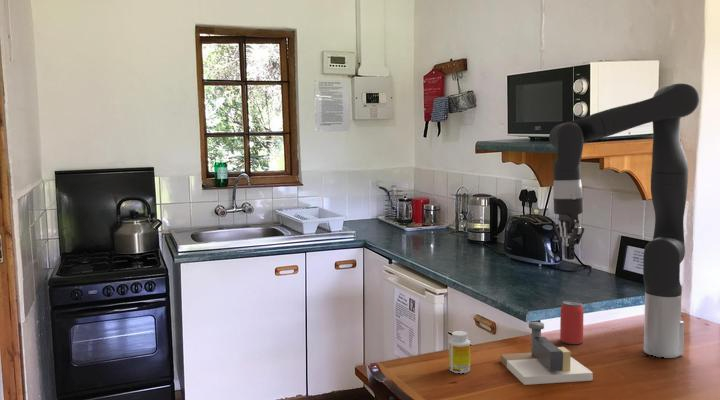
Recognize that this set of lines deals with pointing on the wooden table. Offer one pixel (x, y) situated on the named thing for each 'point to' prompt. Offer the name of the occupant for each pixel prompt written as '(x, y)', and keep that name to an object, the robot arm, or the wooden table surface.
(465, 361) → the supplement bottle
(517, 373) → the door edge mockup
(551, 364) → the block
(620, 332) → the wooden table surface
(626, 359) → the wooden table surface
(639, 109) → the robot arm
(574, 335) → the beer can
